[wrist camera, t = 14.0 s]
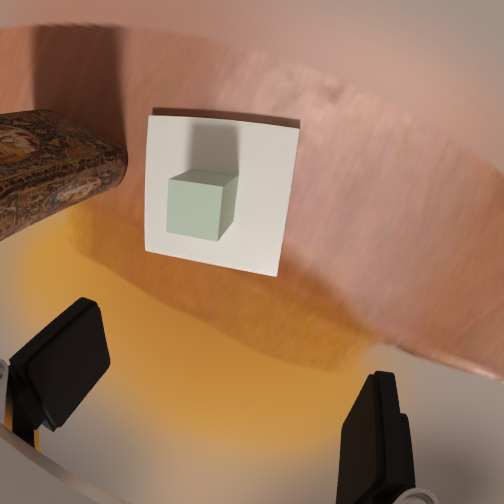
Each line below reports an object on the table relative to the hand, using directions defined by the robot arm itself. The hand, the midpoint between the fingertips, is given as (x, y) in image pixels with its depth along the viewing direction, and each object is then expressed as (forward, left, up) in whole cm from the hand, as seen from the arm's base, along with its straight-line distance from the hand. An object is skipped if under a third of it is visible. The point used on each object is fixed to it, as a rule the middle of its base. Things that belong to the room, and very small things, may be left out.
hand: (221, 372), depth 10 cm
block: (+8, +1, -24) cm, 25 cm away
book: (+27, -3, -25) cm, 37 cm away
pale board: (+8, +1, -25) cm, 26 cm away
